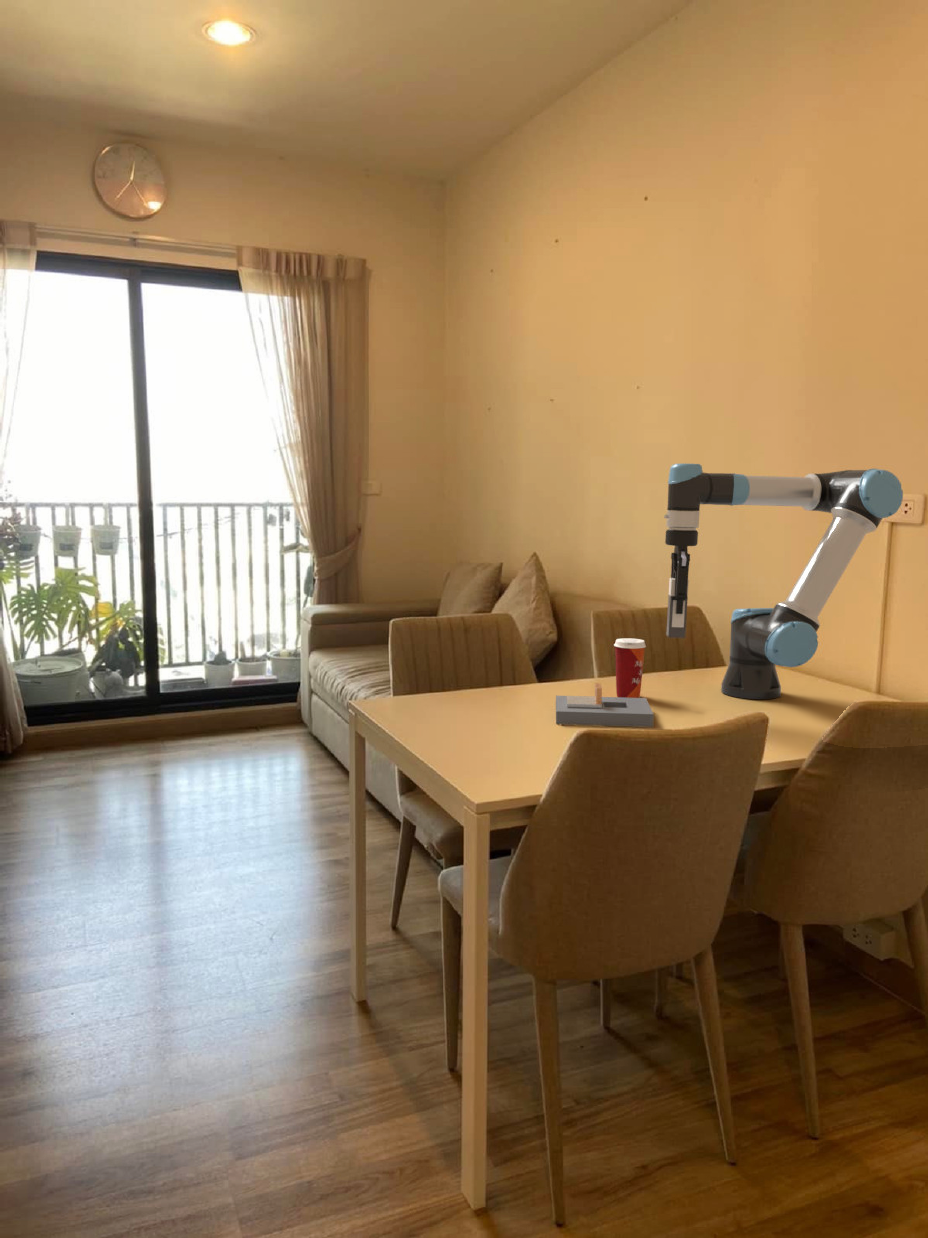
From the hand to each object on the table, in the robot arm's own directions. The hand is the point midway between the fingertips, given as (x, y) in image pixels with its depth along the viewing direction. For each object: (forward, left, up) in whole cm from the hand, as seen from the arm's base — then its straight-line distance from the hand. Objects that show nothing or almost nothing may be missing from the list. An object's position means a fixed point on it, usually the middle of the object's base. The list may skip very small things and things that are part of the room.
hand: (676, 625), depth 216 cm
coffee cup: (+10, -13, -21) cm, 27 cm away
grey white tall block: (0, 0, -3) cm, 3 cm away
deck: (+18, +9, -21) cm, 29 cm away
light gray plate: (+22, +9, -18) cm, 30 cm away
